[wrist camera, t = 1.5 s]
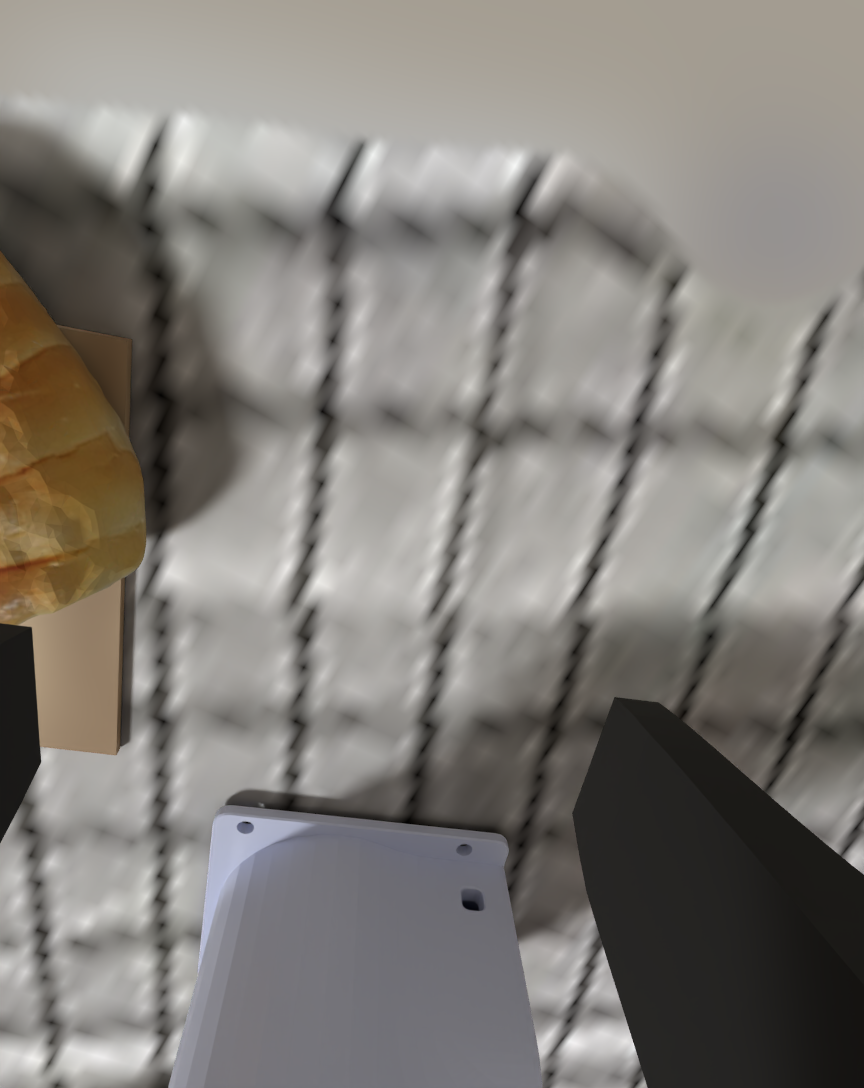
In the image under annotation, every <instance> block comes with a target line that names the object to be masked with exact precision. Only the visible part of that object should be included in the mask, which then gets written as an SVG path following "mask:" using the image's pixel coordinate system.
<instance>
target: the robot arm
mask: <svg viewBox="0 0 864 1088" xmlns="http://www.w3.org/2000/svg"><path fill="white" fill-rule="evenodd" d="M40 763H41V754H40V739H39V724H38V709H37V694H36V679H35V664H34V649H33V634H32V627H27V626H19V625H11V624H2V623H0V843H1V841H2V839H3V837H4V835H5V833H6V831H7V829H8V827H9V825H10V824H11V822H12V820H13V818H14V816H15V814H16V812H17V810H18V808H19V806H20V804H21V802H22V800H23V798H24V796H25V794H26V792H27V790H28V788H29V786H30V784H31V782H32V780H33V778H34V776H35V774H36V771H37V769H38V767H39V765H40ZM572 814H573V820H574V826H575V832H576V837H577V843H578V849H579V855H580V860H581V866H582V871H583V876H584V881H585V886H586V891H587V894H588V898H589V901H590V904H591V908H592V911H593V914H594V918H595V921H596V924H597V927H598V931H599V934H600V937H601V940H602V944H603V947H604V950H605V954H606V957H607V960H608V963H609V966H610V969H611V973H612V976H613V979H614V982H615V985H616V988H617V992H618V995H619V998H620V1001H621V1004H622V1007H623V1011H624V1014H625V1017H626V1020H627V1023H628V1026H629V1030H630V1033H631V1036H632V1039H633V1042H634V1045H635V1049H636V1052H637V1055H638V1058H639V1061H640V1065H641V1068H642V1071H643V1074H644V1077H645V1080H646V1084H647V1087H648V1088H864V875H863V874H862V873H861V872H860V871H858V870H857V869H856V868H854V867H853V866H852V865H851V864H849V863H848V862H847V861H846V860H845V859H843V858H842V857H841V856H840V855H838V854H837V853H836V852H835V851H834V850H832V849H831V848H830V847H829V846H828V845H826V844H825V843H824V842H823V841H822V840H820V839H819V838H818V837H817V836H816V835H814V834H813V833H812V832H811V831H810V830H808V829H807V828H806V827H805V826H804V825H803V824H801V823H800V822H799V821H798V820H797V819H795V818H794V817H793V816H792V815H791V814H790V813H788V812H787V811H786V810H785V809H784V808H783V807H781V806H780V805H779V804H778V803H777V802H776V801H774V800H773V799H772V798H771V797H770V796H769V795H768V794H766V793H765V792H764V791H763V790H762V789H761V788H759V787H758V786H757V785H756V784H755V783H754V782H753V781H751V780H750V779H749V778H748V777H747V776H746V775H745V774H743V773H742V772H741V771H740V770H739V769H738V768H737V767H735V766H734V765H733V764H732V763H731V762H730V761H729V760H727V759H726V758H725V757H724V756H723V755H722V754H721V753H719V752H718V751H717V750H716V749H715V748H714V747H712V746H711V745H710V744H709V743H708V742H707V741H705V740H704V739H703V738H702V737H701V736H700V735H698V734H697V733H696V732H695V731H694V730H693V729H691V728H690V727H689V726H688V725H687V724H685V723H684V722H683V721H682V720H681V719H679V718H678V717H677V716H676V715H674V714H673V713H672V712H670V711H669V710H668V709H666V708H665V707H664V706H662V705H661V704H660V703H658V702H649V701H641V700H633V699H624V698H616V697H615V698H614V700H613V703H612V706H611V709H610V711H609V714H608V717H607V720H606V722H605V725H604V728H603V731H602V733H601V736H600V739H599V742H598V744H597V747H596V750H595V753H594V755H593V758H592V761H591V764H590V766H589V769H588V772H587V775H586V777H585V780H584V783H583V786H582V788H581V791H580V794H579V797H578V799H577V802H576V805H575V808H574V810H573V813H572ZM243 821H247V822H251V823H252V824H245V823H243ZM462 844H468V845H466V846H460V845H462ZM508 852H509V848H508V843H507V840H506V838H505V837H504V836H502V835H500V834H497V833H489V832H480V831H470V830H461V829H451V828H442V827H433V826H423V825H414V824H405V823H395V822H386V821H376V820H367V819H358V818H348V817H339V816H330V815H320V814H311V813H301V812H292V811H283V810H273V809H264V808H255V807H245V806H236V805H226V806H224V807H221V808H220V809H219V810H218V811H217V812H216V815H215V818H214V821H213V827H212V837H211V846H210V856H209V866H208V876H207V885H206V895H205V905H204V915H203V924H202V934H201V944H200V954H199V964H198V977H197V981H196V984H195V988H194V992H193V996H192V999H191V1003H190V1007H189V1011H188V1015H187V1018H186V1022H185V1026H184V1030H183V1033H182V1037H181V1041H180V1045H179V1048H178V1052H177V1056H176V1060H175V1063H174V1067H173V1071H172V1075H171V1079H170V1082H169V1086H168V1088H542V1076H541V1068H540V1059H539V1053H538V1047H537V1040H536V1035H535V1029H534V1024H533V1019H532V1014H531V1008H530V1003H529V998H528V992H527V987H526V982H525V977H524V971H523V966H522V961H521V955H520V950H519V945H518V940H517V934H516V929H515V924H514V918H513V913H512V908H511V903H510V897H509V892H508V887H507V881H506V876H505V871H504V865H505V862H506V859H507V856H508Z"/></svg>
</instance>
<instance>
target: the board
mask: <svg viewBox="0 0 864 1088" xmlns="http://www.w3.org/2000/svg"><path fill="white" fill-rule="evenodd" d="M57 326H58V328H59V329H60V330H61V332H62V333H63V334H64V336H65V337H66V338H67V339H68V340H69V342H70V343H71V345H72V346H73V347H74V348H75V350H76V351H77V352H78V354H79V355H80V357H81V358H82V360H83V362H84V364H85V366H86V367H87V369H88V371H89V372H90V373H91V375H92V376H93V377H94V378H95V380H96V381H97V382H98V384H99V385H100V387H101V389H102V392H103V394H104V396H105V398H106V399H107V401H108V402H109V403H110V405H111V406H112V408H113V409H114V410H115V412H116V413H117V414H118V416H119V417H120V419H121V420H122V422H123V423H124V425H125V428H126V432H127V435H128V437H129V425H130V391H131V357H132V339H127V338H122V337H117V336H112V335H107V334H102V333H97V332H91V331H86V330H81V329H76V328H71V327H66V326H61V325H57ZM124 595H125V577H124V578H122V579H120V580H119V581H117V582H115V583H114V584H112V585H111V586H110V587H108V588H106V589H104V590H102V591H99V592H97V593H95V594H93V595H91V596H89V597H87V598H85V599H82V600H80V601H78V602H76V603H74V604H72V605H69V606H67V607H65V608H63V609H61V610H59V611H57V612H54V613H52V614H45V615H38V616H36V617H33V618H31V619H28V620H27V621H25V622H23V623H22V624H20V625H19V626H27V627H32V634H33V649H34V664H35V679H36V694H37V709H38V724H39V739H40V747H48V748H57V749H65V750H74V751H83V752H92V753H100V754H109V755H117V753H118V751H119V749H120V732H121V698H122V664H123V629H124Z"/></svg>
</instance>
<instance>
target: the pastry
mask: <svg viewBox="0 0 864 1088" xmlns="http://www.w3.org/2000/svg"><path fill="white" fill-rule="evenodd" d="M145 547H146V518H145V499H144V482H143V477H142V473H141V467H140V464H139V461H138V459H137V457H136V454H135V452H134V450H133V447H132V445H131V442H130V440H129V437H128V435H127V432H126V428H125V425H124V423H123V422H122V420H121V419H120V417H119V416H118V414H117V413H116V412H115V410H114V409H113V408H112V406H111V405H110V403H109V402H108V401H107V399H106V398H105V396H104V394H103V392H102V389H101V387H100V385H99V384H98V382H97V381H96V380H95V378H94V377H93V376H92V375H91V373H90V372H89V371H88V369H87V367H86V366H85V364H84V362H83V360H82V358H81V357H80V355H79V354H78V352H77V351H76V350H75V348H74V347H73V346H72V345H71V343H70V342H69V340H68V339H67V338H66V337H65V336H64V334H63V333H62V332H61V330H60V329H59V328H58V326H57V325H56V324H55V322H54V321H53V320H52V318H51V317H50V316H49V314H48V313H47V309H46V308H45V307H43V306H42V305H41V303H40V302H39V300H38V299H37V297H36V296H35V294H34V293H33V291H32V290H31V289H30V288H29V286H28V285H27V284H26V283H25V281H24V280H23V279H22V277H21V276H20V275H19V274H18V272H17V271H16V270H15V269H14V268H13V266H12V265H11V264H10V263H9V261H8V260H7V259H6V258H5V256H4V255H3V254H2V252H1V251H0V623H2V624H11V625H20V624H22V623H23V622H25V621H27V620H28V619H31V618H33V617H36V616H38V615H45V614H52V613H54V612H57V611H59V610H61V609H63V608H65V607H67V606H69V605H72V604H74V603H76V602H78V601H80V600H82V599H85V598H87V597H89V596H91V595H93V594H95V593H97V592H99V591H102V590H104V589H106V588H108V587H110V586H111V585H112V584H114V583H115V582H117V581H119V580H120V579H122V578H124V577H126V576H128V575H129V574H131V573H132V572H133V571H135V570H136V569H137V568H138V567H139V565H140V564H141V562H142V560H143V557H144V553H145Z"/></svg>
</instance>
